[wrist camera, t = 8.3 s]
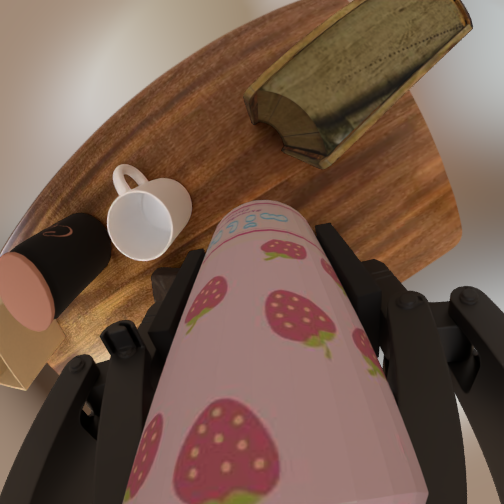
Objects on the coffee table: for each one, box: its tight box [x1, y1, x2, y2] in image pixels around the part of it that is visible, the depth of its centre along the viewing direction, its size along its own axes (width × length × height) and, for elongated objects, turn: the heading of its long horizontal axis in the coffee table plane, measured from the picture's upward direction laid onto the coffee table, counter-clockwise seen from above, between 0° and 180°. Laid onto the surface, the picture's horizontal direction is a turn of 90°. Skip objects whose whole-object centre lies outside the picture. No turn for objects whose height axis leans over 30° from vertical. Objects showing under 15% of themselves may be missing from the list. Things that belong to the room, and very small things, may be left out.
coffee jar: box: [0, 213, 111, 332], centre depth 34 cm, size 11×11×18 cm
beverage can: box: [123, 200, 428, 504], centre depth 9 cm, size 6×6×15 cm
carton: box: [0, 297, 66, 391], centre depth 40 cm, size 15×13×18 cm
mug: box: [107, 164, 192, 261], centre depth 34 cm, size 12×8×10 cm
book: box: [243, 0, 473, 169], centre depth 22 cm, size 16×6×25 cm, turn 137°
